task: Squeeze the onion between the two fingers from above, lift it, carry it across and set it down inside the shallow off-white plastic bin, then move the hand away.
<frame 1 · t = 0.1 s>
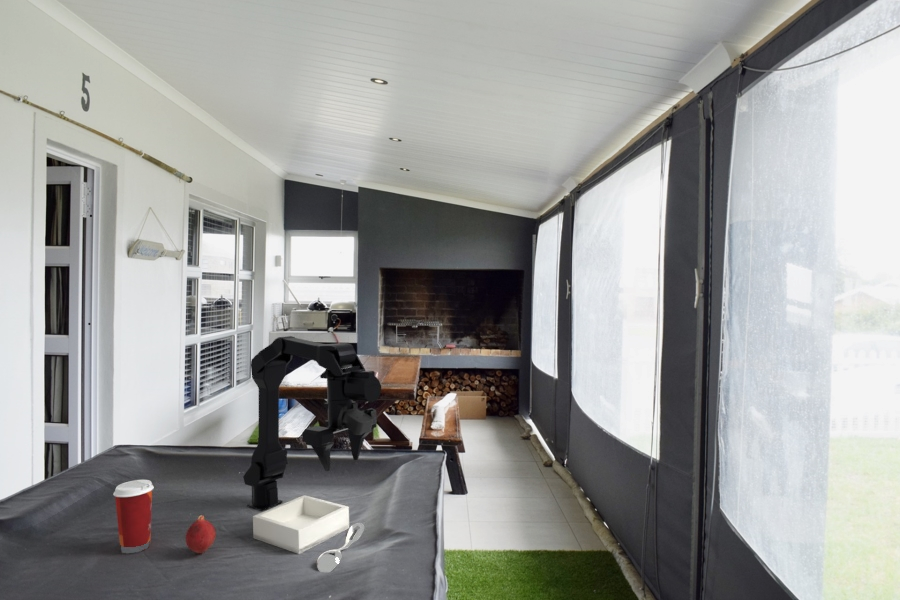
hand: (341, 465, 130), 15 cm above the table, tool pointing down, fingers open, 9 cm apart
onion: (201, 554, 119), on the table
bin: (302, 533, 128), on the table
silver metal spoon: (343, 551, 119), on the table
paper cup: (135, 549, 122), on the table
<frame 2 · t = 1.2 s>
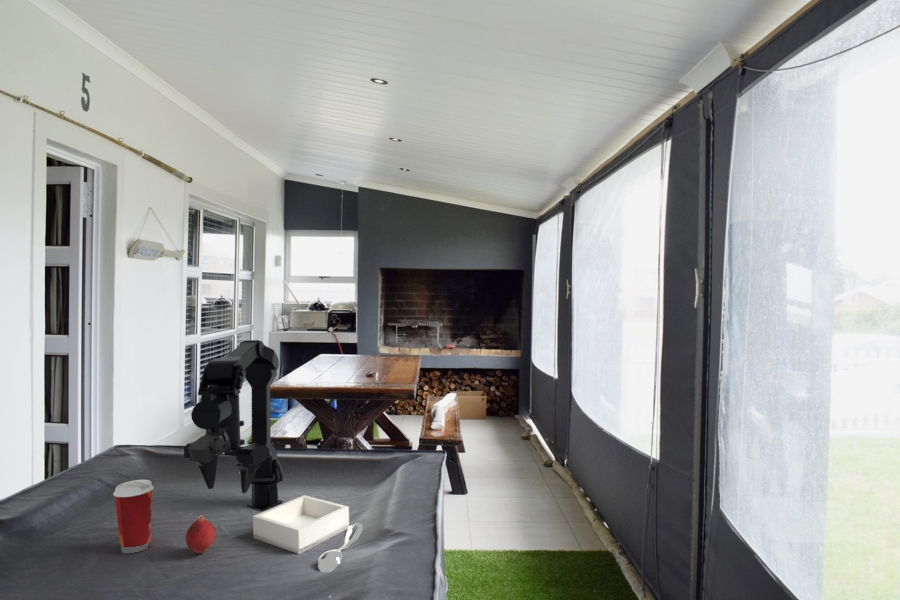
hand: (227, 490, 120), 13 cm above the table, tool pointing down, fingers open, 9 cm apart
nothing on the table moved.
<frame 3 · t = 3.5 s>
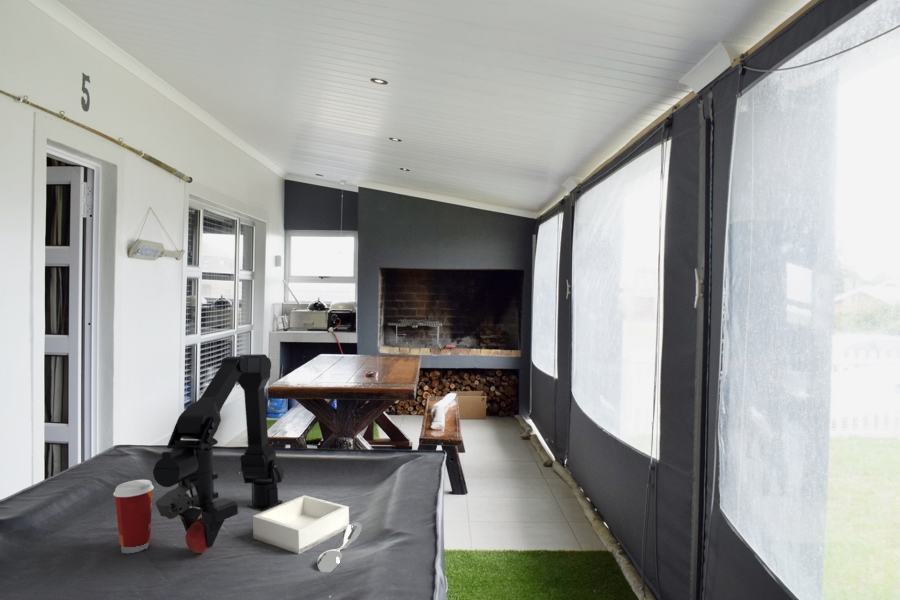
hand: (200, 544, 119), 2 cm above the table, tool pointing down, fingers closed on onion, 6 cm apart
onion: (201, 554, 119), on the table, touching gripper
everything else where it was.
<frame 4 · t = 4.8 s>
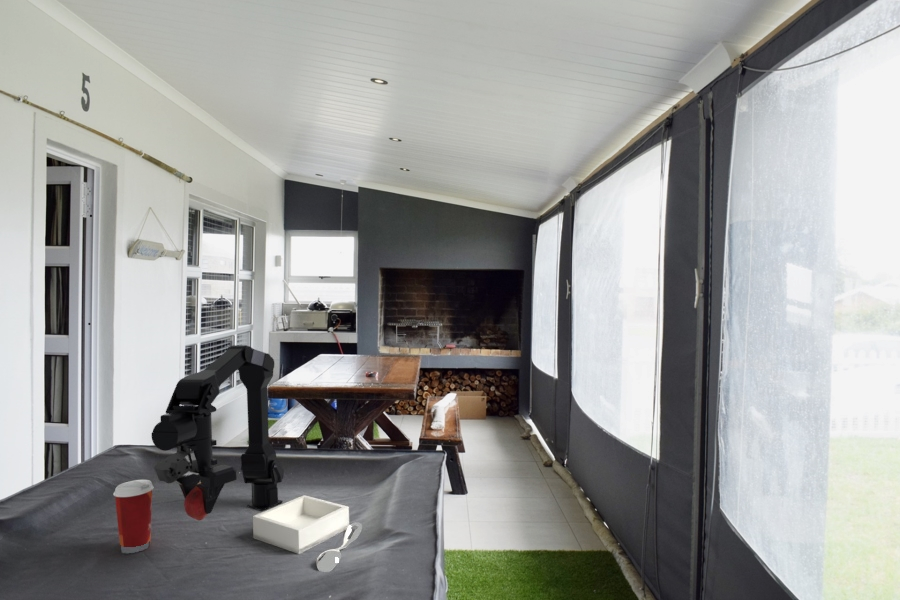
hand: (199, 510, 119), 9 cm above the table, tool pointing down, fingers closed on onion, 6 cm apart
onion: (199, 521, 119), point 7 cm above the table, touching gripper
everything else where it was.
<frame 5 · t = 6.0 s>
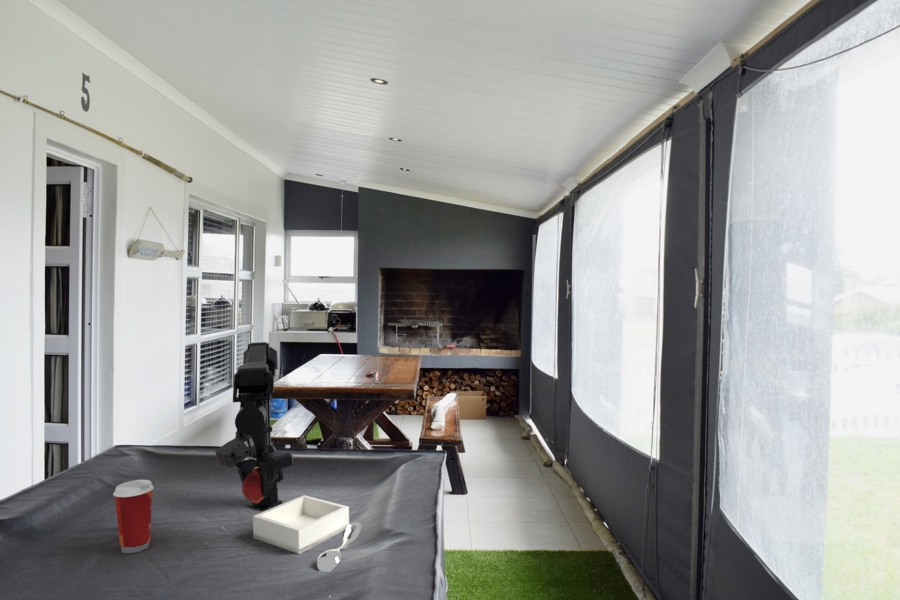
hand: (256, 494, 124), 11 cm above the table, tool pointing down, fingers closed on onion, 6 cm apart
onion: (256, 504, 124), point 8 cm above the table, touching gripper
everything else where it was.
when the fingers open (4 cm above the table, at t = 8.5 s): onion drops 1 cm, resting on bin.
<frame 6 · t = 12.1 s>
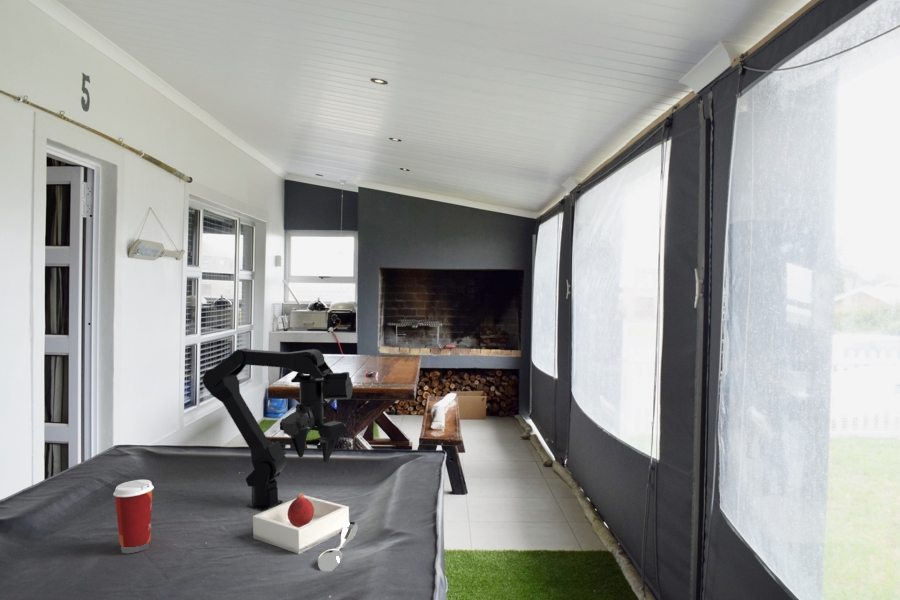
hand: (313, 459, 144), 12 cm above the table, tool pointing down, fingers open, 9 cm apart
onion: (301, 529, 128), point 1 cm above the table, touching bin
everything else where it was.
at the end: onion inside the target area on the bin (0.1 cm from its centre), point 0.8 cm above the bin's base; the gripper is holding nothing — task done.
